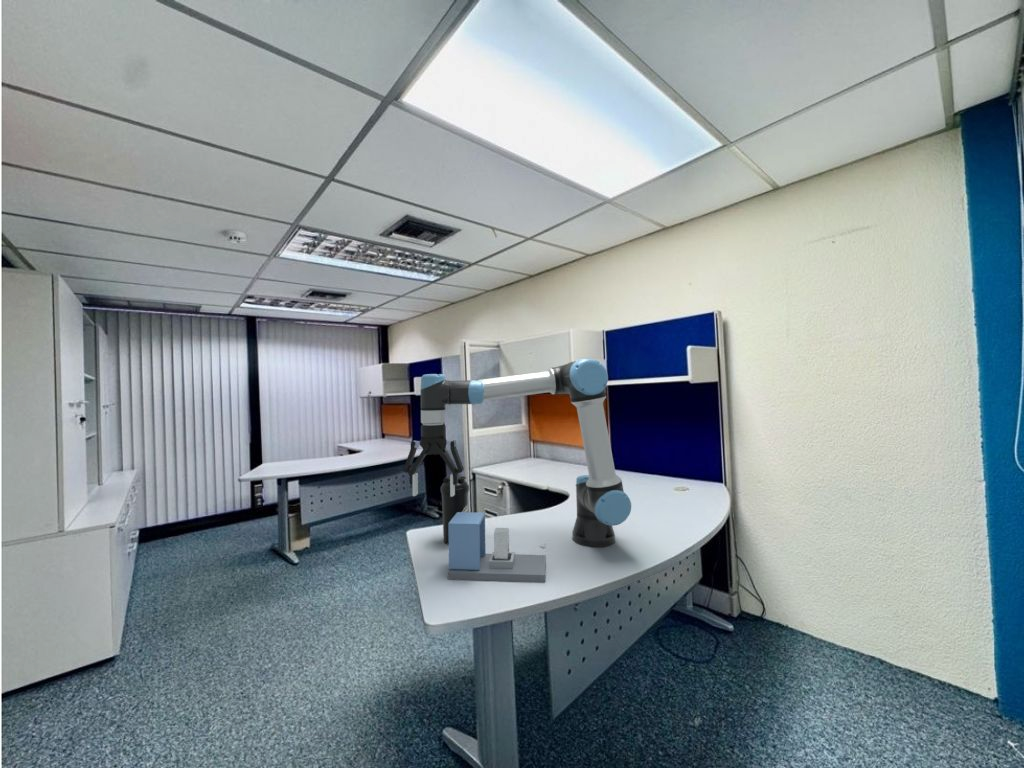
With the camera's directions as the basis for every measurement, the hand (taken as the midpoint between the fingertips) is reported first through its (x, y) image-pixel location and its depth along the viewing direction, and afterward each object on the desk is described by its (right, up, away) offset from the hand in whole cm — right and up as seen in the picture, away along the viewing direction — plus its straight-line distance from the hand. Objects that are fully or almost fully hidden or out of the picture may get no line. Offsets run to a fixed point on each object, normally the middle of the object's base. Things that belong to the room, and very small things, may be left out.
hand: (433, 495), depth 122 cm
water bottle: (+3, -23, +22) cm, 32 cm away
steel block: (+21, -20, -3) cm, 29 cm away
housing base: (+20, -22, -2) cm, 30 cm away
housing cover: (+11, -20, -1) cm, 23 cm away
